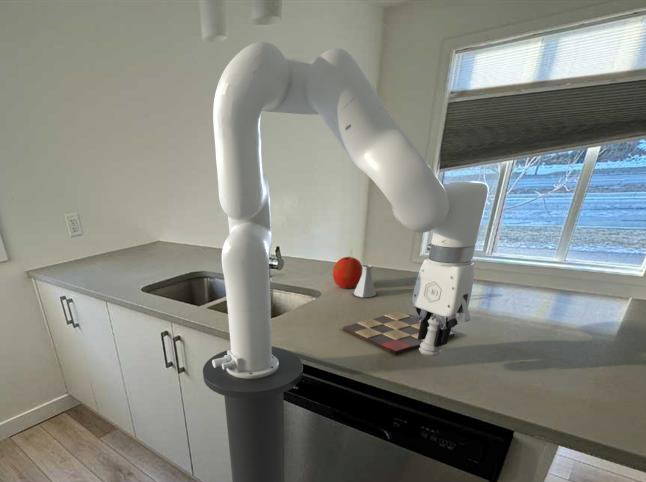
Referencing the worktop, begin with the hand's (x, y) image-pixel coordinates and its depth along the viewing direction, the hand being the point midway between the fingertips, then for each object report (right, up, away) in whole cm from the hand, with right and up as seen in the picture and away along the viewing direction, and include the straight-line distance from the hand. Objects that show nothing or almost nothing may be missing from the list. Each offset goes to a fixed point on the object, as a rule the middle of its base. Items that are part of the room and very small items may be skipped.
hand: (432, 341), depth 86 cm
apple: (+1, +27, +64) cm, 69 cm away
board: (+3, +5, +24) cm, 25 cm away
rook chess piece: (0, -3, +1) cm, 3 cm away
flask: (+5, +22, +55) cm, 59 cm away
